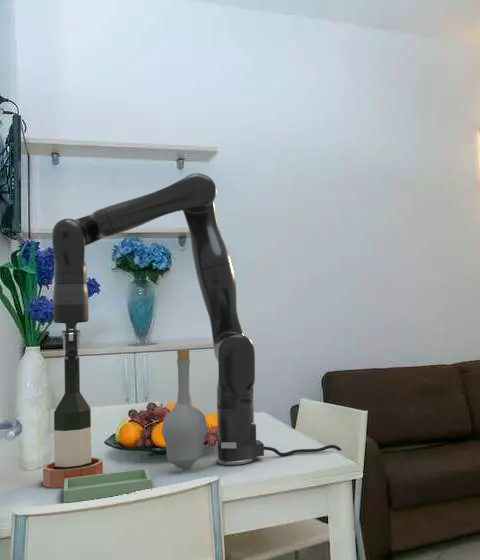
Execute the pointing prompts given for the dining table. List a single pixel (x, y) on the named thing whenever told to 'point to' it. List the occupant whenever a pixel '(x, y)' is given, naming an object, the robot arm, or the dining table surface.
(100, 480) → the tray
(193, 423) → the bottle
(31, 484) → the dining table surface
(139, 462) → the dining table surface
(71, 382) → the wine bottle
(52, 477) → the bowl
